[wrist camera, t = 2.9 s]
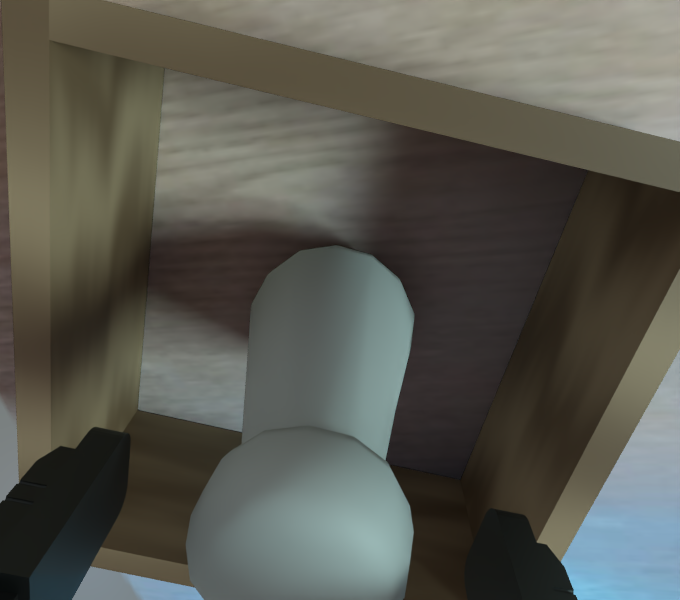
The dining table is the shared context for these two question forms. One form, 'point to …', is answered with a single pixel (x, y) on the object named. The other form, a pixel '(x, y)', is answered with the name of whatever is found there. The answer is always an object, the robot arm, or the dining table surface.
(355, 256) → the salt shaker
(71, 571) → the robot arm
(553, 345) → the walnut box
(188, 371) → the dining table surface
